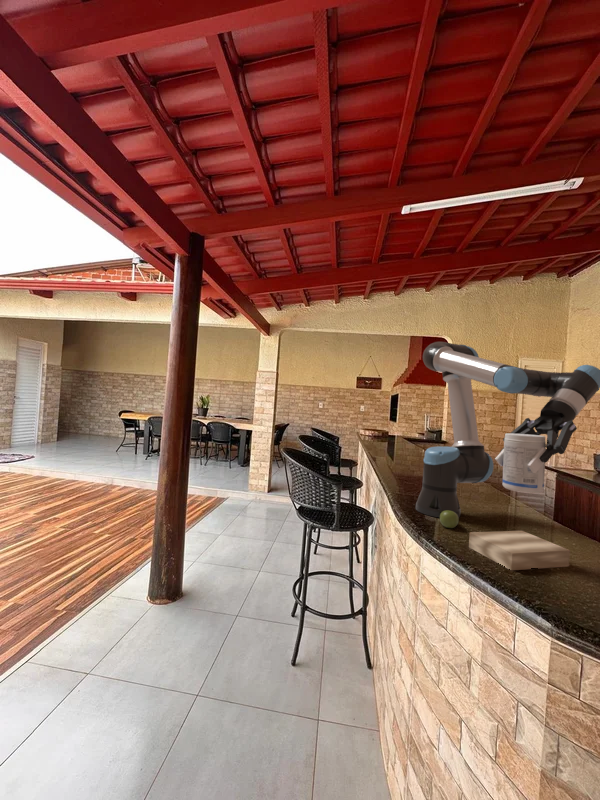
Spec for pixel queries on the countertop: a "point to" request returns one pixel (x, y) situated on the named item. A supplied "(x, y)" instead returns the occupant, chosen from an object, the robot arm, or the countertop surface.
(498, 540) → the wooden riser
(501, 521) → the countertop surface
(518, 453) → the supplement tub
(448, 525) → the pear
